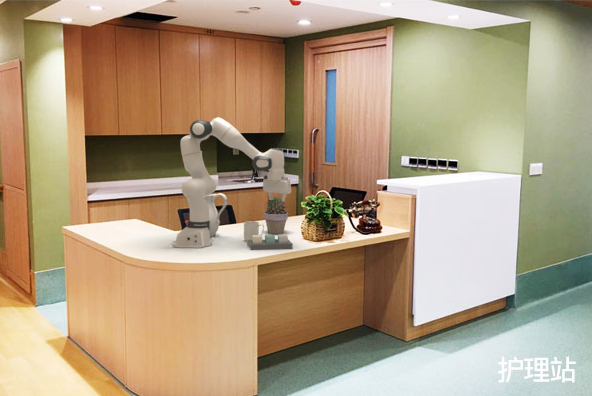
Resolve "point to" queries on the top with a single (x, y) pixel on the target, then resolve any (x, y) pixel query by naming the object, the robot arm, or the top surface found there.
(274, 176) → the robot arm
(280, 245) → the keypad
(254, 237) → the key left
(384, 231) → the top surface
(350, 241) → the top surface
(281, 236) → the key right
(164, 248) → the top surface
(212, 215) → the pitcher
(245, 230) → the mug
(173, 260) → the top surface
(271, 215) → the potted plant
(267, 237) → the key mid
